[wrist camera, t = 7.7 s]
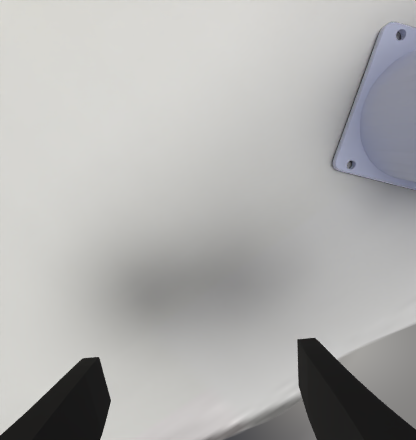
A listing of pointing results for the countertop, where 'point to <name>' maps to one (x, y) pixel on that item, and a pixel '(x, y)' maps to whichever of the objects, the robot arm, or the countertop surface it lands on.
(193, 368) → the countertop surface
